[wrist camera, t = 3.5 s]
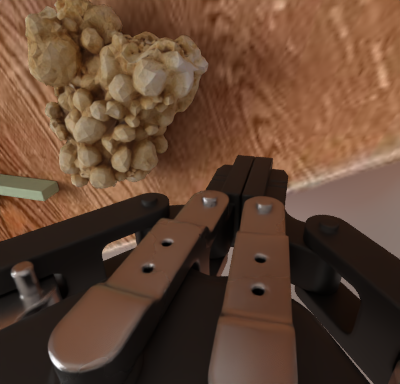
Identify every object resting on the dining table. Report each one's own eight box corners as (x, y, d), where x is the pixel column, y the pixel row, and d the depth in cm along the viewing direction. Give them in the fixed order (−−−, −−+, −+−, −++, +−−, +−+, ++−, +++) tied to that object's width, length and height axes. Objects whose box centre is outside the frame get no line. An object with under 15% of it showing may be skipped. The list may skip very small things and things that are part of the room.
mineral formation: (231, 50, 24) (169, 204, 31) (93, -16, 27) (65, 140, 34) (183, 44, 17) (118, 243, 25) (4, -44, 20) (-6, 160, 27)
